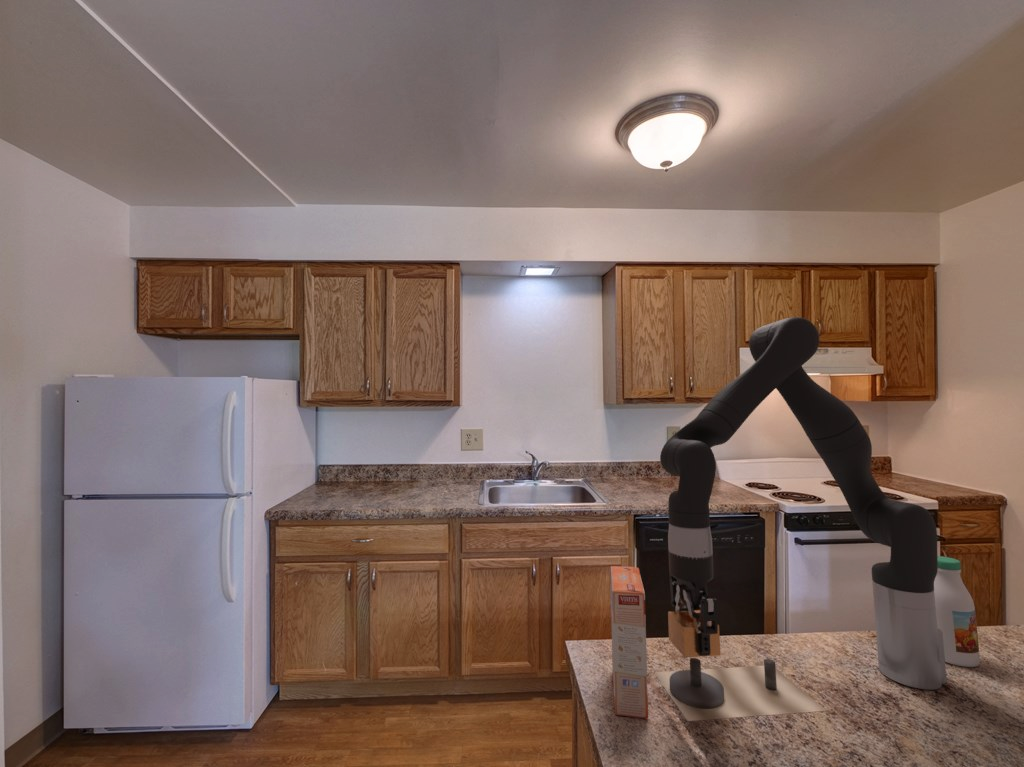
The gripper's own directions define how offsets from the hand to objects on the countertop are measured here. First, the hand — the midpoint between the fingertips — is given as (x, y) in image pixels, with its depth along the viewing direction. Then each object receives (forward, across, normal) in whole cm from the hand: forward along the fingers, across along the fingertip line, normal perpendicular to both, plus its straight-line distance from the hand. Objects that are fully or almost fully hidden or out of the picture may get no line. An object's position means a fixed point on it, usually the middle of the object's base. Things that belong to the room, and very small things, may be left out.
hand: (693, 644), depth 82 cm
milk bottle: (+10, +8, -59) cm, 60 cm away
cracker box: (+10, +4, +11) cm, 15 cm away
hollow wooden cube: (0, 0, 0) cm, 0 cm away
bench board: (+10, 0, -7) cm, 12 cm away
